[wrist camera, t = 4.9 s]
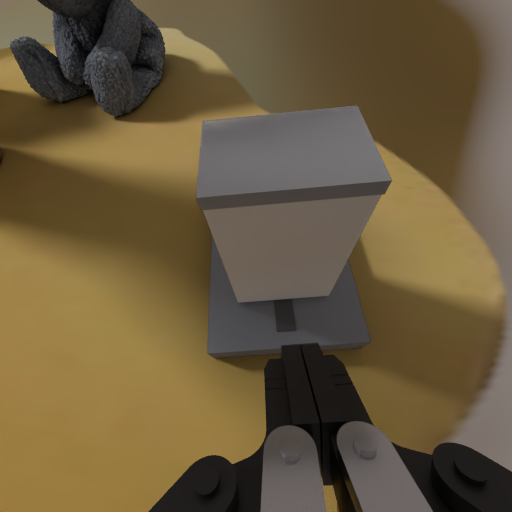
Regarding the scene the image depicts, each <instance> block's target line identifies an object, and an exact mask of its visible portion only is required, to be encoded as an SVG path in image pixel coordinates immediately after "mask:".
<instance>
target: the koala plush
mask: <svg viewBox="0 0 512 512" xmlns="http://www.w3.org/2000/svg"><path fill="white" fill-rule="evenodd" d="M38 1H39V2H40V3H41V4H43V5H44V6H45V7H47V8H49V9H50V10H52V11H53V18H54V19H53V28H54V30H53V33H54V39H55V41H54V42H55V50H56V54H57V57H56V56H55V55H53V54H52V53H50V51H49V50H47V49H46V48H44V47H43V46H41V45H40V43H39V42H37V41H36V40H35V39H32V38H29V37H19V40H17V39H15V40H14V41H13V42H11V44H10V49H11V50H12V53H13V54H14V57H15V59H16V60H17V63H18V64H19V66H20V69H21V70H22V72H23V74H24V76H25V79H26V80H27V82H28V83H29V84H30V87H31V88H33V89H34V91H36V92H37V93H38V94H39V95H40V96H41V97H45V98H46V99H52V100H55V101H59V102H63V101H68V100H70V99H71V100H72V99H74V98H77V97H80V96H82V95H85V94H87V93H89V92H90V91H92V90H94V94H95V99H96V101H97V102H98V105H100V107H101V108H102V110H103V111H105V112H107V113H108V114H111V115H114V116H118V115H120V116H121V115H122V114H125V113H130V112H131V111H132V110H133V109H135V108H136V107H138V106H139V105H140V104H141V103H142V101H144V99H145V98H146V96H147V95H148V94H149V93H150V91H151V89H152V88H154V87H155V86H156V85H158V84H160V83H159V82H160V80H161V74H163V72H162V68H163V66H164V61H165V60H164V59H165V47H164V45H165V43H164V42H163V37H162V34H161V32H160V30H159V29H158V27H157V26H156V24H155V23H154V22H153V21H152V20H150V19H149V17H147V16H146V15H145V14H144V13H143V12H142V11H140V10H139V9H138V8H136V6H134V4H133V3H132V2H131V1H130V0H38Z"/></svg>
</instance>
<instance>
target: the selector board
mask: <svg viewBox="0 0 512 512" xmlns="http://www.w3.org/2000/svg"><path fill="white" fill-rule="evenodd" d="M370 342H371V339H370V336H369V332H368V328H367V325H366V321H365V318H364V314H363V311H362V307H361V303H360V300H359V296H358V293H357V289H356V285H355V282H354V278H353V275H352V271H351V267H350V264H349V260H347V262H346V264H345V266H344V268H343V270H342V272H341V273H340V275H339V277H338V279H337V281H336V283H335V285H334V287H333V289H332V291H331V293H330V294H329V296H319V297H306V298H293V299H280V300H267V301H254V302H241V303H238V301H237V299H236V296H235V293H234V291H233V288H232V286H231V283H230V280H229V278H228V275H227V272H226V270H225V267H224V265H223V262H222V259H221V257H220V254H219V251H218V249H217V246H216V243H215V241H214V238H213V236H212V247H211V272H210V298H209V324H208V350H207V354H209V355H210V356H212V357H213V358H223V357H237V356H251V355H265V354H279V353H281V345H291V344H299V345H300V344H304V343H318V344H319V346H320V348H321V351H322V350H336V349H350V348H362V347H363V346H365V345H367V344H368V343H370Z"/></svg>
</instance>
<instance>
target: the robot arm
mask: <svg viewBox="0 0 512 512" xmlns="http://www.w3.org/2000/svg"><path fill="white" fill-rule="evenodd" d="M0 159H1V150H0ZM281 357H282V359H269V361H268V363H267V365H266V367H265V369H264V374H265V401H266V437H265V440H264V442H263V444H262V446H261V447H260V448H259V449H258V450H257V451H256V452H255V453H254V454H253V455H252V456H250V457H248V458H246V459H244V460H242V461H239V462H237V463H235V464H231V463H230V462H229V461H228V460H227V459H225V458H224V457H221V456H217V455H211V456H206V457H204V458H201V459H199V460H198V461H196V462H195V463H194V464H193V465H191V466H190V467H189V468H188V470H187V471H186V472H185V473H184V474H183V475H182V476H181V477H180V478H179V479H178V480H177V481H176V483H175V484H174V485H173V486H172V487H171V488H170V489H169V490H168V491H167V492H166V493H165V494H164V496H163V497H162V498H161V499H160V500H159V501H158V502H157V503H156V504H155V505H154V506H153V507H152V509H151V510H150V511H149V512H326V507H325V500H324V494H323V487H322V480H323V485H333V488H334V492H335V496H336V500H337V512H512V472H511V471H509V470H508V469H506V468H504V467H503V466H501V465H499V464H498V463H496V462H494V461H492V460H491V459H489V458H487V457H486V456H484V455H482V454H481V453H479V452H477V451H475V450H473V449H471V448H469V447H467V446H464V445H461V444H457V443H443V444H440V445H438V446H437V447H436V448H435V449H434V452H433V455H430V454H426V453H422V452H418V451H414V450H410V449H406V448H403V447H401V446H398V445H396V444H394V443H392V442H391V441H390V440H389V439H388V437H387V436H386V435H385V434H384V433H383V432H382V431H381V430H379V429H378V428H376V427H375V426H374V425H373V423H372V422H371V420H370V418H369V415H368V413H367V411H366V409H365V407H364V405H363V403H362V401H361V399H360V397H359V395H358V393H357V391H356V389H355V387H354V385H353V383H352V381H351V379H350V377H349V376H348V373H347V371H346V369H345V367H344V365H343V363H342V362H341V361H340V360H339V359H337V358H336V357H335V356H334V355H323V354H322V351H321V348H320V346H319V344H318V343H304V344H300V345H299V344H291V345H281ZM321 476H322V480H321Z"/></svg>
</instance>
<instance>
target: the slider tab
mask: <svg viewBox="0 0 512 512" xmlns="http://www.w3.org/2000/svg"><path fill="white" fill-rule="evenodd" d="M391 181H392V179H391V177H390V175H389V173H388V171H387V168H386V166H385V164H384V162H383V160H382V158H381V156H380V153H379V151H378V149H377V147H376V145H375V143H374V141H373V138H372V136H371V134H370V132H369V130H368V128H367V126H366V123H365V121H364V119H363V117H362V115H361V113H360V111H359V109H358V106H350V107H339V108H329V109H320V110H309V111H299V112H289V113H278V114H268V115H258V116H247V117H237V118H227V119H217V120H206V121H203V122H202V134H201V145H200V157H199V169H198V180H197V192H196V199H197V202H198V204H199V207H200V209H201V210H203V212H204V215H205V217H206V220H207V222H208V225H209V228H210V230H211V233H212V236H213V238H214V241H215V243H216V246H217V249H218V251H219V254H220V257H221V259H222V262H223V265H224V267H225V270H226V272H227V275H228V278H229V280H230V283H231V286H232V288H233V291H234V293H235V296H236V299H237V301H238V303H241V302H254V301H267V300H280V299H293V298H306V297H319V296H329V294H330V293H331V291H332V289H333V287H334V285H335V283H336V281H337V279H338V277H339V275H340V273H341V272H342V270H343V268H344V266H345V264H346V262H347V260H348V258H349V256H350V254H351V253H352V251H353V249H354V247H355V245H356V243H357V241H358V239H359V237H360V235H361V233H362V232H363V230H364V228H365V226H366V224H367V222H368V220H369V218H370V216H371V214H372V213H373V211H374V209H375V207H376V205H377V203H378V201H379V199H380V197H381V195H382V194H385V193H386V191H387V189H388V187H389V185H390V183H391Z"/></svg>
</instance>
